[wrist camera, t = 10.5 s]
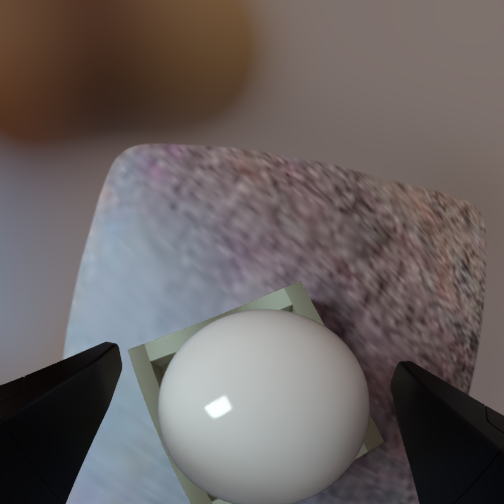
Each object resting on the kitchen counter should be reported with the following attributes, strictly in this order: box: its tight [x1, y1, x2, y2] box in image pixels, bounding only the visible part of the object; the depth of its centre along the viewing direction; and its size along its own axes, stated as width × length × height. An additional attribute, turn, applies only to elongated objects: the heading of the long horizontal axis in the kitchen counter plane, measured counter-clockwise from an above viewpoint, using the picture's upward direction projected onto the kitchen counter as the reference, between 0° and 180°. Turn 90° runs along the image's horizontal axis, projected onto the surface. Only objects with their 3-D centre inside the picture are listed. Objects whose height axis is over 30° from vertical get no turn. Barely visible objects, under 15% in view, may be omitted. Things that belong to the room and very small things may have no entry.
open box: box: [128, 281, 384, 504], centre depth 15 cm, size 10×10×3 cm
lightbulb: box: [158, 309, 370, 504], centre depth 11 cm, size 6×6×11 cm
